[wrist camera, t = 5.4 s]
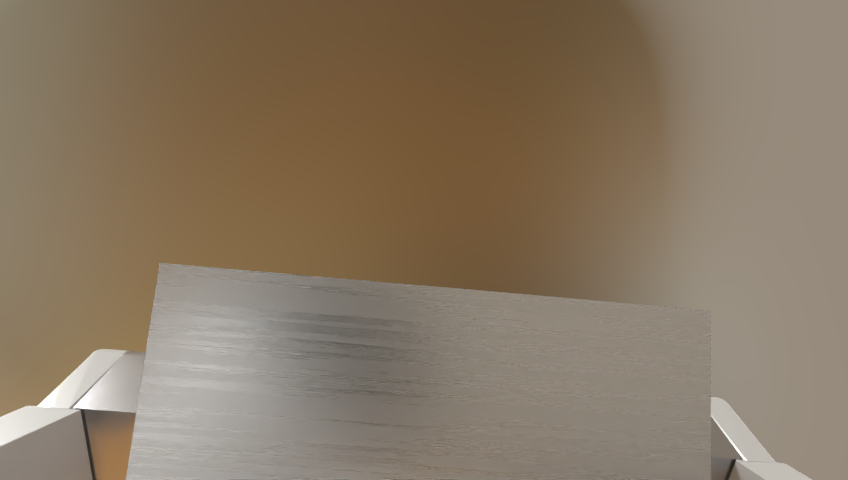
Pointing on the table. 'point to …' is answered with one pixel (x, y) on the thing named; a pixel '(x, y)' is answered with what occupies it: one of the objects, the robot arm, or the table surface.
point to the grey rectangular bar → (414, 383)
